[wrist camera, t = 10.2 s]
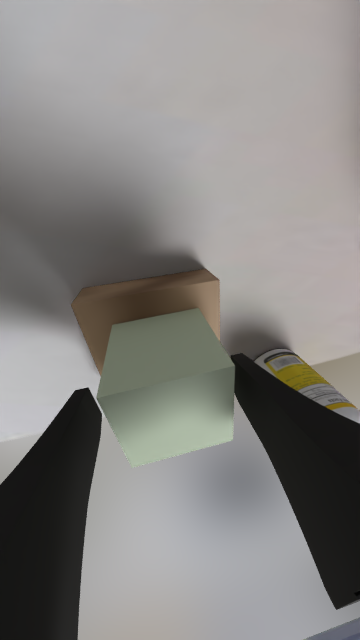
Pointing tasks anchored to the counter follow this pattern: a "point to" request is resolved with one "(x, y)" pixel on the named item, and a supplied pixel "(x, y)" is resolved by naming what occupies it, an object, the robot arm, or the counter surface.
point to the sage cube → (167, 386)
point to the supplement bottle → (306, 381)
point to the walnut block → (144, 304)
